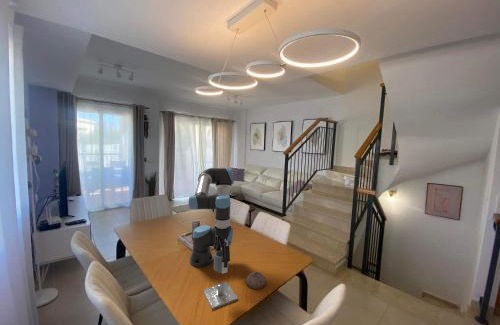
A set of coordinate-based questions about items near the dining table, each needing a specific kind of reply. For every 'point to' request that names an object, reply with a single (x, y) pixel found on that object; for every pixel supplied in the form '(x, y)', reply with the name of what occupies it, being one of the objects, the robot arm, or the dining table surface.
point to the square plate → (219, 295)
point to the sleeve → (218, 261)
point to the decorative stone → (255, 280)
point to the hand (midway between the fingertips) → (221, 267)
